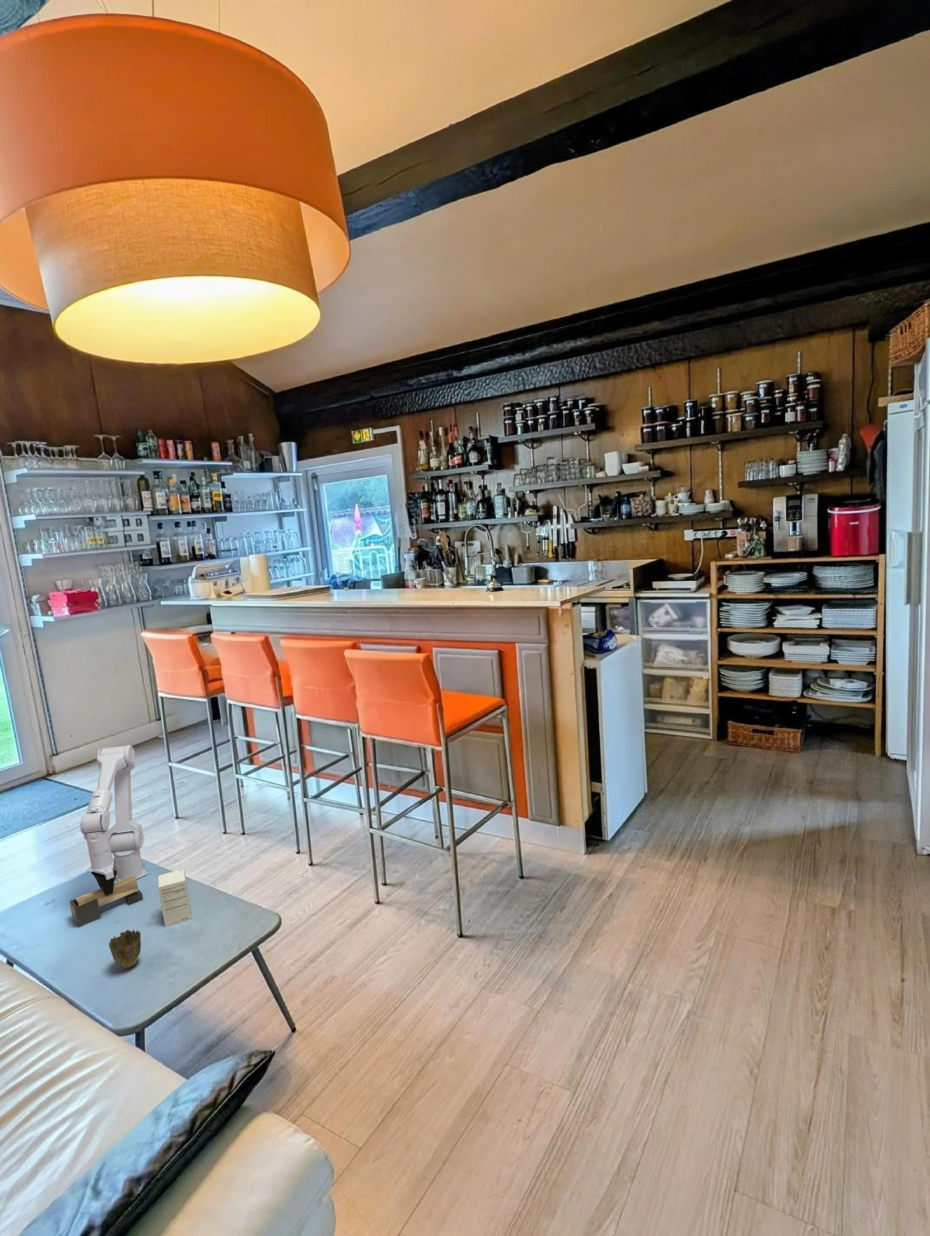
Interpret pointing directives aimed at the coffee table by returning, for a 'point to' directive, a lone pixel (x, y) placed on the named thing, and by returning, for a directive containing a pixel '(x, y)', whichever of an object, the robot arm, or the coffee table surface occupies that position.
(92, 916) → the dark grey open box
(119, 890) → the rail
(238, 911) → the coffee table surface
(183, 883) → the supplement box
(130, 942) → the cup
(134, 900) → the rest block
